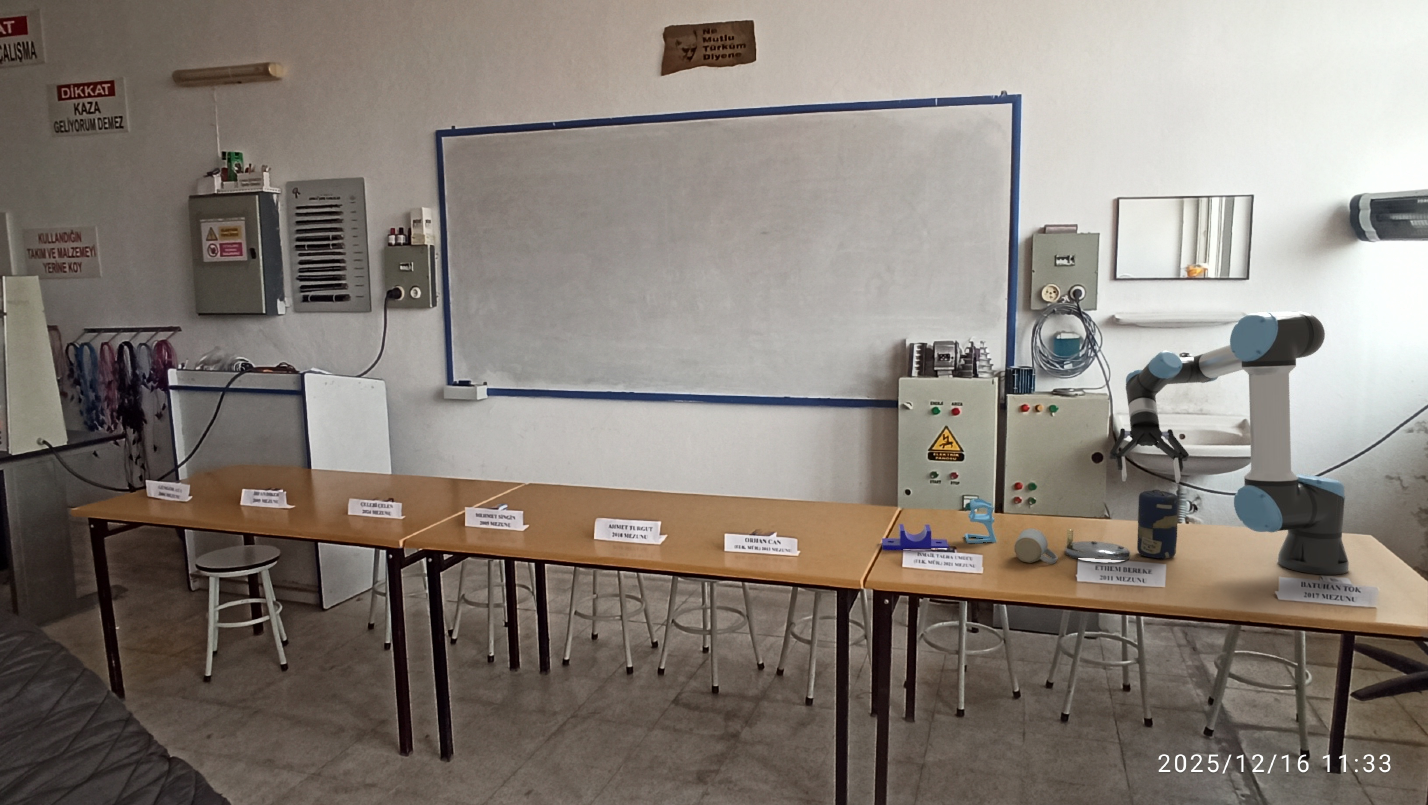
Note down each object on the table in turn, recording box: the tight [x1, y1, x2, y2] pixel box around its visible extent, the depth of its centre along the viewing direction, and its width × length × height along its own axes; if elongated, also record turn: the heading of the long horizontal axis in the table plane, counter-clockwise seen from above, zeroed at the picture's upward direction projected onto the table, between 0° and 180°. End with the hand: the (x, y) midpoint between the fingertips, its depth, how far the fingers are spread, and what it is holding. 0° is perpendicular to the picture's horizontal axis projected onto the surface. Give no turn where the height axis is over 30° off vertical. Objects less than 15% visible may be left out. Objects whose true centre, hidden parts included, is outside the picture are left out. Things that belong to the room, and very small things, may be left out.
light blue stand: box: [964, 498, 997, 544], centre depth 271 cm, size 8×8×12 cm
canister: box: [1136, 489, 1179, 559], centre depth 252 cm, size 10×10×18 cm
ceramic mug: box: [1013, 528, 1058, 565], centre depth 251 cm, size 11×8×8 cm
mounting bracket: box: [881, 523, 950, 551], centre depth 266 cm, size 18×7×6 cm, turn 82°
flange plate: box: [1065, 528, 1131, 561], centre depth 255 cm, size 16×16×6 cm
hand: (1151, 479), depth 261 cm, fingers open, 13 cm apart
